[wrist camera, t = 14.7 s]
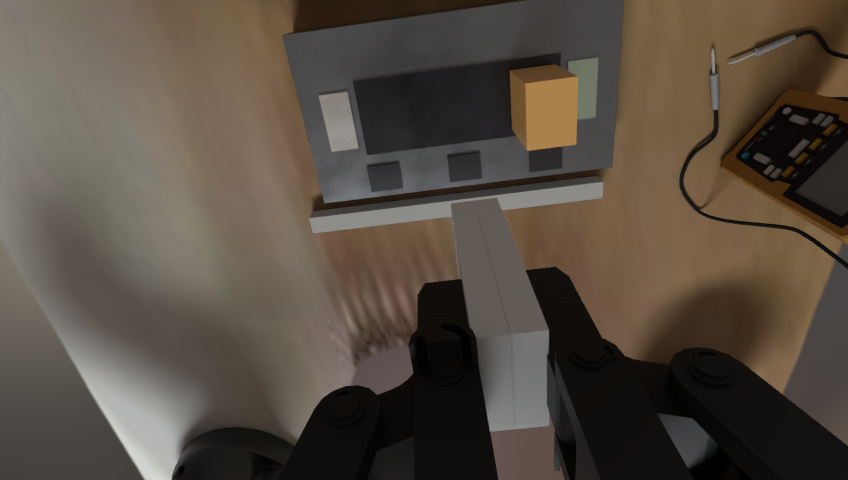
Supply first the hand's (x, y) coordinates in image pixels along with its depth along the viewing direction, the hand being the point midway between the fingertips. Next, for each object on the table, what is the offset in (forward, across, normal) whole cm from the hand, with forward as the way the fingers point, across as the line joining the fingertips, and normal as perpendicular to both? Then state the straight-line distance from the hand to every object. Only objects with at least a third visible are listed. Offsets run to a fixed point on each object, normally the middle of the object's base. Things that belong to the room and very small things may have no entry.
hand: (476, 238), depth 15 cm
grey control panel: (+22, -1, 0) cm, 22 cm away
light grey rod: (+22, 0, +8) cm, 24 cm away
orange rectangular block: (+19, -6, 0) cm, 20 cm away
